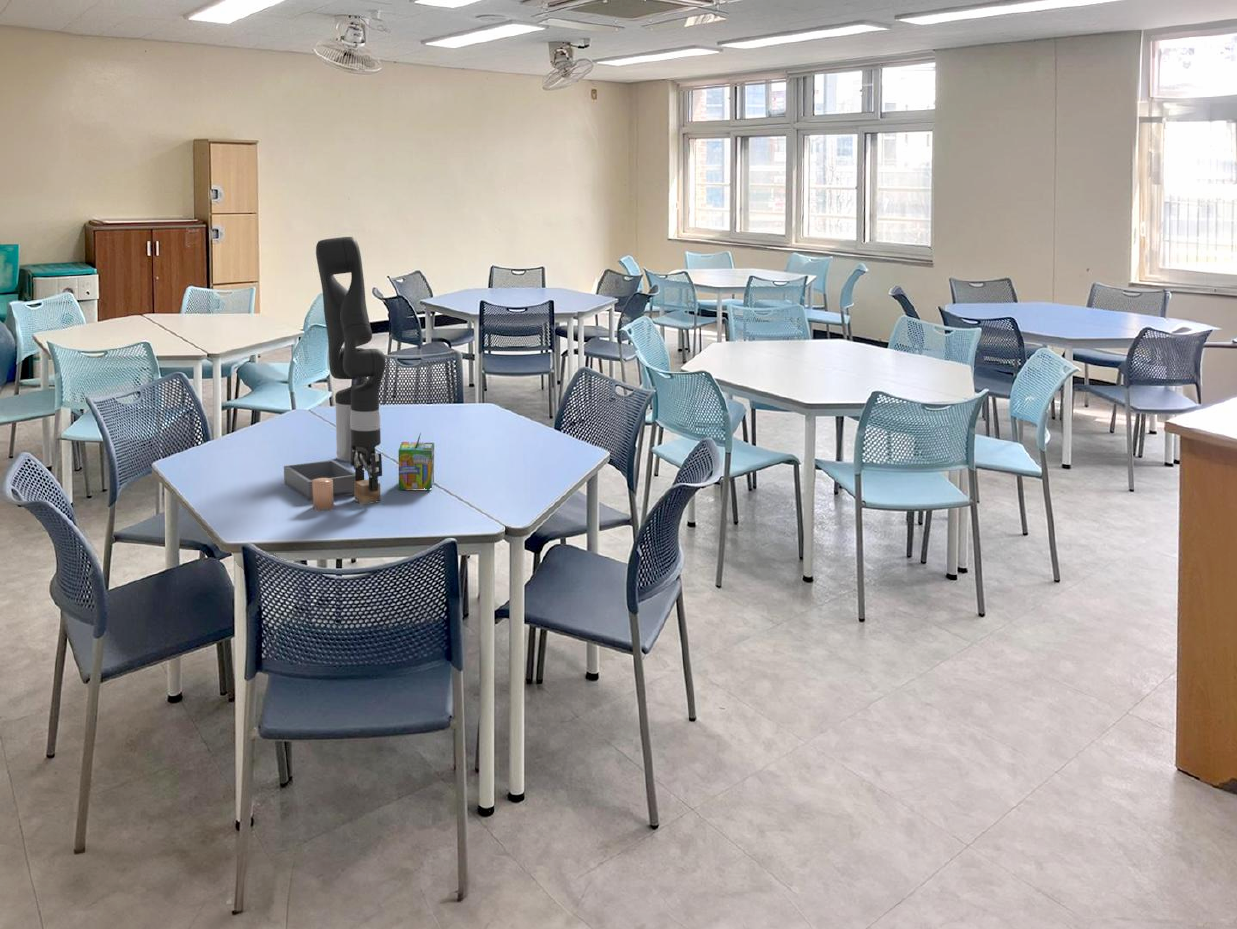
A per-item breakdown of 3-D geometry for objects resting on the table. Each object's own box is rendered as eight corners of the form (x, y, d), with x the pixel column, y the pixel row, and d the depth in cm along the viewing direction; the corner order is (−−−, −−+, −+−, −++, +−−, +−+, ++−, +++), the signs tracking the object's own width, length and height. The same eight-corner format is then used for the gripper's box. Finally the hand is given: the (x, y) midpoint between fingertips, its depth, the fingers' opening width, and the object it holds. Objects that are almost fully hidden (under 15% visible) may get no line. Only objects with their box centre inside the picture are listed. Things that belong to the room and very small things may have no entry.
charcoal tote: (333, 477, 298) (333, 460, 297) (360, 493, 284) (359, 475, 283) (284, 483, 290) (283, 466, 288) (309, 500, 276) (308, 481, 275)
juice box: (401, 481, 297) (400, 429, 293) (434, 482, 298) (434, 430, 294) (397, 490, 288) (396, 437, 284) (431, 491, 289) (431, 438, 285)
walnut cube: (372, 497, 282) (372, 478, 280) (380, 501, 278) (380, 483, 276) (354, 499, 279) (354, 481, 277) (362, 504, 275) (362, 485, 274)
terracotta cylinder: (329, 503, 274) (328, 476, 273) (336, 508, 271) (335, 481, 269) (310, 505, 272) (309, 479, 270) (317, 511, 268) (316, 484, 266)
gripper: (390, 430, 270) (391, 492, 274) (367, 420, 281) (368, 479, 285) (363, 433, 265) (364, 496, 269) (340, 422, 276) (342, 483, 280)
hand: (366, 487), depth 277 cm, fingers open, 8 cm apart
